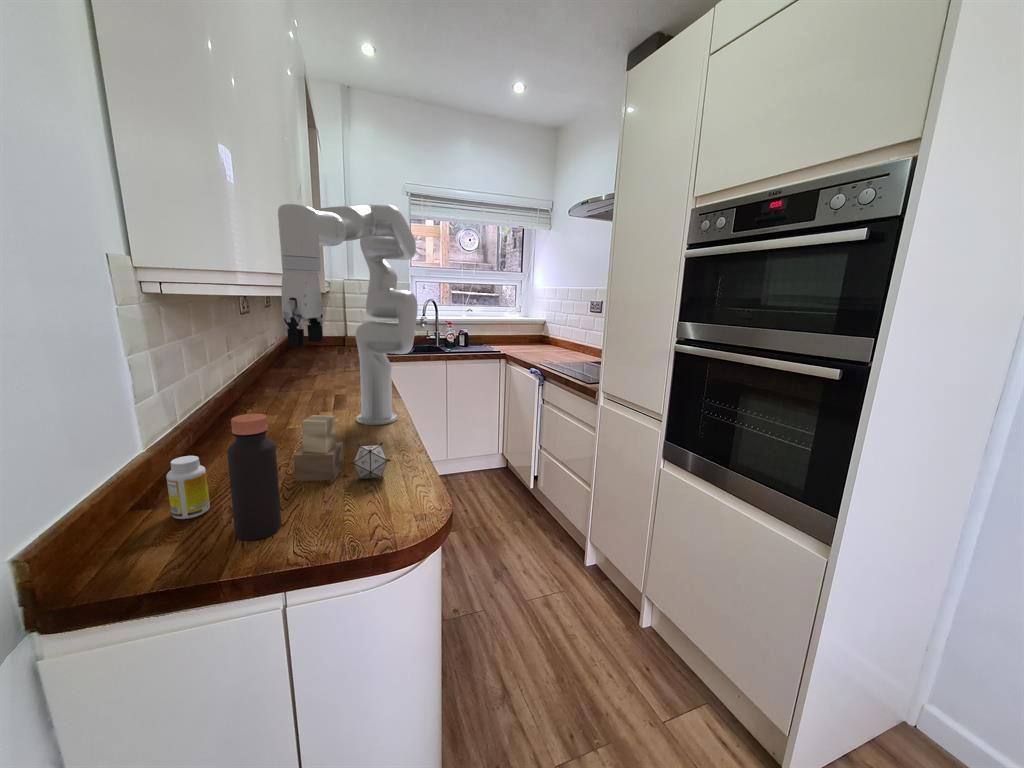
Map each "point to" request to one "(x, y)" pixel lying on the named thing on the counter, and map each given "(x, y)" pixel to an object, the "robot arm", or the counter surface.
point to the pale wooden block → (318, 433)
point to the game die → (370, 461)
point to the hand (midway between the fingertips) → (306, 344)
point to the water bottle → (253, 478)
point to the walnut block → (318, 464)
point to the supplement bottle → (187, 488)
